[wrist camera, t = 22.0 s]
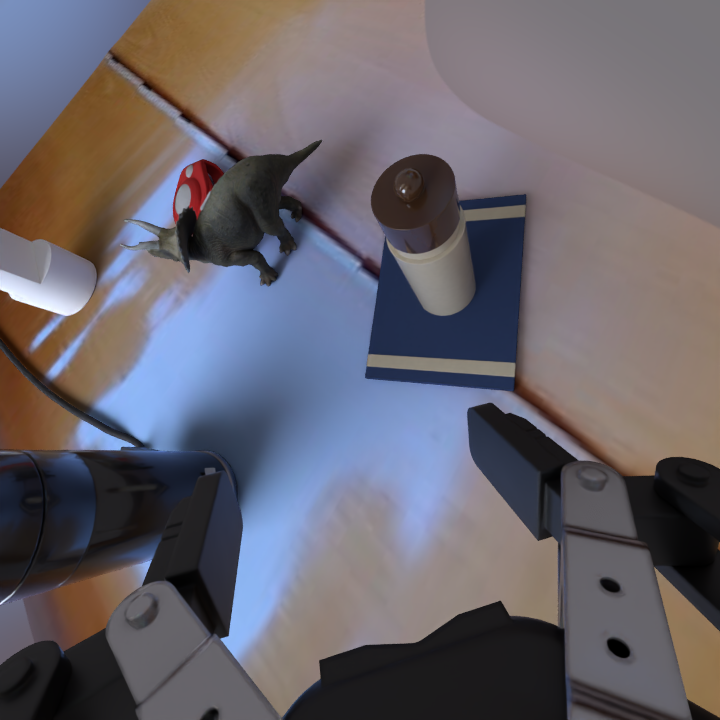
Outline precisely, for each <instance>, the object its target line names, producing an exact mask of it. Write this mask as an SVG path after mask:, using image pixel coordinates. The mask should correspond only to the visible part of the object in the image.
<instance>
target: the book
mask: <svg viewBox="0 0 720 720" xmlns="http://www.w3.org/2000/svg"><path fill="white" fill-rule="evenodd" d="M459 204H460V206H461V207H462V209H463V211H464V214H465V219H466V226H467V232H468V238H469V244H470V250H471V256H472V262H473V268H474V274H475V280H476V290H475V294H474V296H473V299H472V300H471V302H470V303H469V304H468V305H467V306H466V307H465V308H464V309H462V310H461V311H459V312H457V313H455V314H452V315H447V316H440V315H434V314H432V313H429V312H428V311H426V310H425V309H424V308H423V307H422V306H421V305H420V303H419V301H418V300H417V298H416V296H415V294H414V292H413V291H412V289H411V287H410V285H409V283H408V282H407V280H406V278H405V276H404V274H403V273H402V271H401V269H400V267H399V266H398V264H397V262H396V260H395V258H394V257H393V255H392V253H391V251H390V249H389V247H388V245H387V241H386V236H385V242H384V249H383V256H382V263H381V270H380V277H379V284H378V291H377V298H376V305H375V312H374V319H373V326H372V333H371V340H370V347H369V354H368V359H367V367H366V374H365V378H367V379H378V380H389V381H401V382H413V383H424V384H436V385H447V386H459V387H471V388H482V389H494V390H505V391H514V382H515V366H516V350H517V334H518V319H519V303H520V287H521V271H522V256H523V240H524V224H525V208H526V194H524V195H514V196H504V197H494V198H484V199H474V200H464V201H459Z"/></svg>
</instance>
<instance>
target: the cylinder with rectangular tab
mask: <svg viewBox="0 0 720 720" xmlns="http://www.w3.org/2000/svg"><path fill="white" fill-rule="evenodd" d="M96 279H97V273H96V268H95V266H94V264H93V263H92V262H90V261H89V260H86V259H84V258H82V257H80V256H78V255H76V254H74V253H71V252H69V251H67V250H65V249H63V248H61V247H59V246H56V245H54V244H52V243H50V242H48V241H46V240H42V239H39V240H35V241H33V242H30V241H28V240H26V239H24V238H22V237H19V236H17V235H15V234H13V233H10V232H8V231H6V230H4V229H2V228H0V290H2V291H5V292H8V293H9V295H10V296H11V298H12V299H14V300H17V301H20V302H23V303H26V304H29V305H33V306H36V307H39V308H42V309H45V310H48V311H52V312H55V313H58V314H61V315H64V316H70V315H73V314H75V313H77V312H78V311H80V310H81V309H82V308H83V307H84V306H85V305H86V304H87V302H88V301H89V299H90V297H91V296H92V293H93V291H94V288H95V285H96Z"/></svg>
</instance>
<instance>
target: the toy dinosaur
mask: <svg viewBox="0 0 720 720" xmlns="http://www.w3.org/2000/svg"><path fill="white" fill-rule="evenodd" d="M321 142H322V140H319V141H316V142H314V143H312V144H310V145H309V146H308V147H306V148H304V149H302V150H300V151H298V152H295V153H294V154H291V155H289V156H286V155H281V154H276V155H275V154H274V155H273V154H269V155H263V156H250V157H247V158H245V159H243V160H241V161H239V162H238V163H237V164H236V165H234V166H233V167H232V168H230V169H229V170H228V171H227V172H225V173H224V175H223V176H222V177H221V178H220V179H219V180H218V181H217V183H216V184H215V185H214V187H213V188H212V190H211V192H210V195H209V197H208V200H207V202H206V203H205V206H204V208H203V210H202V211H201V212H200V213H199V216H198V218H197V216H196V213H195V210H194V211H193V207H191V208H189V206H188V207H187V209H185V208H183V210H182V213H180V214H179V217H178V221H176V227H174V228H172V229H165V228H161V227H158V226H155V225H153V224H150V223H147V222H143V221H139V220H132V219H124V221H126V222H130V223H134V224H137V225H139V226H141V227H142V228H144V229H146V230H148V231H149V232H151V233H153V234H155V235H157V236H158V237H159V240H158V241H148V242H139V244H138V245H136V246H126V245H123V244H120V245H121V246H122V247H124V248H126V249H129V250H145V249H147V251H148V252H149V253H150V254H151V255H153V256H154V257H160V258H165V259H173V260H174V261H181V262H182V263H183V264H184V266H185V268H186V270H187V271H188V273H189V272H190V264H189V260H197V261H200V262H202V263H213V264H215V265H221V266H224V267H228V266H233V265H238V266H245V265H248V264H250V265H253V266H254V267H255V268H256V269H258V270H259V271H260V272H261V275H260V276H259V277H260V278H261V283H260V285H263V284H265V283H266V284H267V286H270V284H271V282H272V280H273V281H276V276H278V273H277V272H275V270H274V269H273V268H271V267H270V266H269V265H268V264H267V262H266V260H265V258H264V256H263V255H262V254H261V253H260V252H258V251H256V250H253V249H254V248H255V247H256V246H257V245H258V244H259V243H260V241H261V240H262V238H263V236H264V233H267V234H269V235H273V236H277V237H278V239H279V240H280V243H281V244H280V253H282V252H283V251H284V252H285V254H286V255H287V256H289V254H290V250H291V249H292V250H296V244H295V242H294V238H293V237H292V236H291V234H290V233H289V231H288V230H287V229H286V228H285V226H284V223H283V220H282V219H281V217H280V216H279V209H287V210H290V211H293V212H292V214H291V218H292V219H293V218H295V220H296V222H299V221H300V219H301V217H302V215H301V213H302V208H301V202H300V201H298V200H296V199H294V198H292V197H290V196H281V189H282V186H283V185H284V184H285V183H286V182H287V181H288V179H289V177H290V175H291V173H292V172H293V170H294V169H295V168H296V167H297V166H298V165H299V164H300V163H301V162H302V161H304V160H305V159H306V158H307V157H308V156H309V155H310V154H311V153H312V152H313V151H314V150H316V149H317V148H318V146H319V145H320V144H321ZM192 234H193V237H192Z"/></svg>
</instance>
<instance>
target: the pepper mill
mask: <svg viewBox="0 0 720 720" xmlns="http://www.w3.org/2000/svg"><path fill="white" fill-rule="evenodd" d="M371 207H372V211H373V214H374V216H375V217H376V219H377V221H378V223H379V225H380V227H381V228H382V230H383V232H384V234H385V236H386V241H387V245H388V247H389V249H390V251H391V253H392V255H393V257H394V258H395V260H396V262H397V264H398V266H399V267H400V269H401V271H402V273H403V274H404V276H405V278H406V280H407V282H408V283H409V285H410V287H411V289H412V291H413V292H414V294H415V296H416V298H417V300H418V301H419V303H420V305H421V306H422V307H423V308H424V309H425V310H426V311H428V312H429V313H432V314H434V315H440V316H447V315H452V314H455V313H457V312H459V311H461V310H462V309H464V308H465V307H466V306H467V305H468V304H469V303H470V302H471V300H472V299H473V296H474V294H475V290H476V280H475V274H474V268H473V262H472V256H471V250H470V244H469V238H468V232H467V226H466V219H465V214H464V211H463V209H462V207H461V206H460V204H459V198H458V193H457V187H456V181H455V176H454V173H453V171H452V169H451V167H450V166H449V165H448V164H447V163H446V162H445V161H444V160H442V159H441V158H439V157H436V156H433V155H428V154H419V155H412V156H409V157H406V158H403V159H401V160H399V161H397V162H395V163H394V164H393V165H391V166H390V167H389V168H387V169H386V170H385V171H384V172H383V174H382V175H381V176H380V177H379V179H378V180H377V182H376V184H375V186H374V189H373V191H372V196H371Z"/></svg>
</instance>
